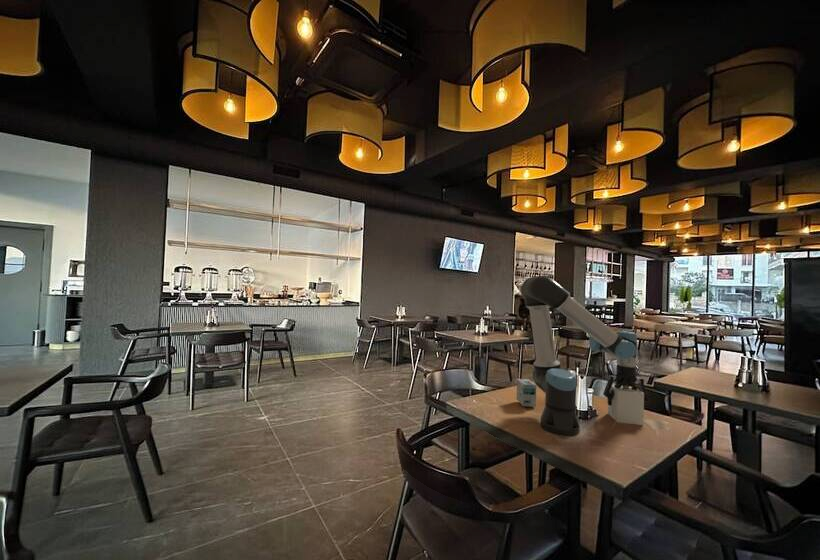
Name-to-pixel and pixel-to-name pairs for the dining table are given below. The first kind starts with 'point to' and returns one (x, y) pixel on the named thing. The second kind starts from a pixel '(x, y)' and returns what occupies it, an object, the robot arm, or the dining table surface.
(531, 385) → the light bulb box
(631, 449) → the dining table surface
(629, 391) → the cover
